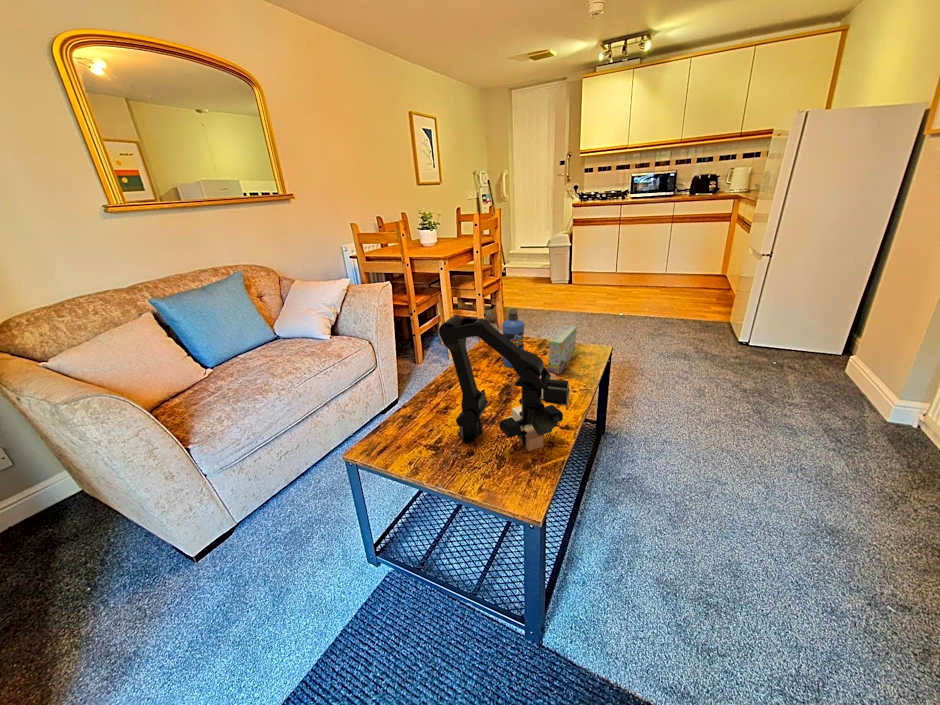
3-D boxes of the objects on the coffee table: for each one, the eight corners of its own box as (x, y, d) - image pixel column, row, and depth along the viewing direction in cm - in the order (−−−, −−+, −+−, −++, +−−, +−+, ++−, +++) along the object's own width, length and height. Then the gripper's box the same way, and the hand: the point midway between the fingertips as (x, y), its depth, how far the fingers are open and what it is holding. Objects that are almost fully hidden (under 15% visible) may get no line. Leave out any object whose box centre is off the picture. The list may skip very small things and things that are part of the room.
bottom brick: (519, 429, 126) (519, 415, 124) (512, 421, 131) (511, 408, 129) (546, 420, 130) (546, 407, 128) (537, 413, 134) (537, 400, 132)
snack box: (560, 377, 160) (561, 342, 154) (547, 374, 163) (548, 340, 157) (575, 357, 177) (577, 325, 171) (563, 355, 179) (564, 324, 173)
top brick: (528, 454, 116) (528, 440, 114) (520, 445, 121) (519, 431, 119) (543, 449, 118) (543, 435, 116) (534, 440, 122) (534, 426, 120)
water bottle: (499, 362, 176) (497, 308, 166) (517, 357, 180) (516, 305, 170) (509, 370, 168) (508, 314, 158) (528, 365, 172) (528, 310, 162)
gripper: (517, 421, 103) (518, 469, 109) (576, 403, 109) (573, 449, 115) (497, 402, 112) (499, 447, 118) (552, 386, 119) (551, 430, 125)
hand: (531, 444), depth 119 cm, fingers open, 5 cm apart
